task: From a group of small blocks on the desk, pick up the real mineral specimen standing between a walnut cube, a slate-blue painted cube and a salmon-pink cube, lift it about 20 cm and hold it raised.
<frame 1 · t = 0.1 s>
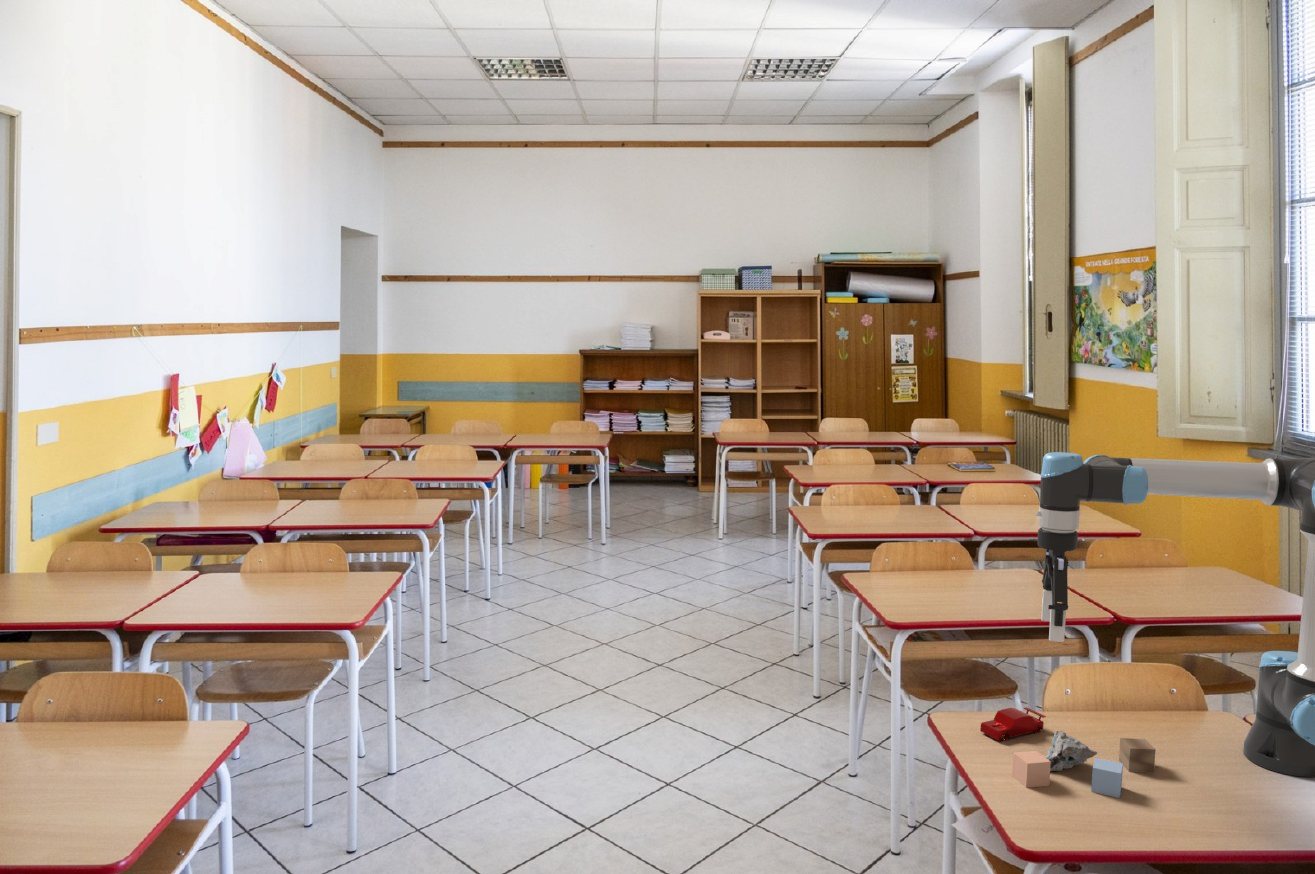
hand: (1052, 630, 199), 28 cm above the table, fingers open, 13 cm apart
salmon-pink cube: (1030, 780, 193), on the table
slate-blue cube: (1106, 789, 190), on the table
toy car: (1012, 734, 216), on the table
walnut cube: (1136, 766, 200), on the table
mineral specimen: (1066, 767, 199), on the table
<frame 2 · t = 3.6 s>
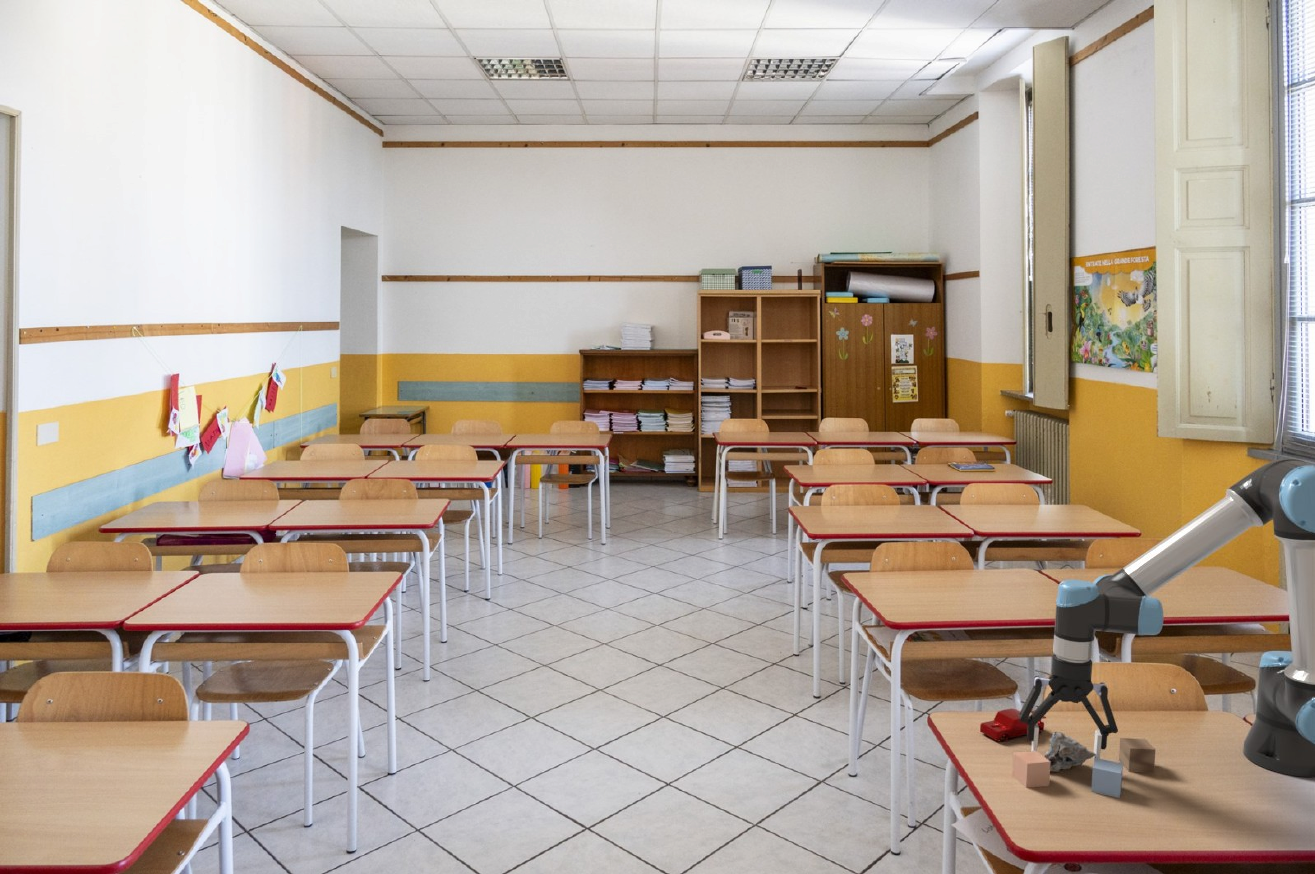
hand: (1064, 759, 199), 1 cm above the table, fingers closed on mineral specimen, 11 cm apart
mineral specimen: (1064, 768, 199), on the table, touching gripper
everything else where it was.
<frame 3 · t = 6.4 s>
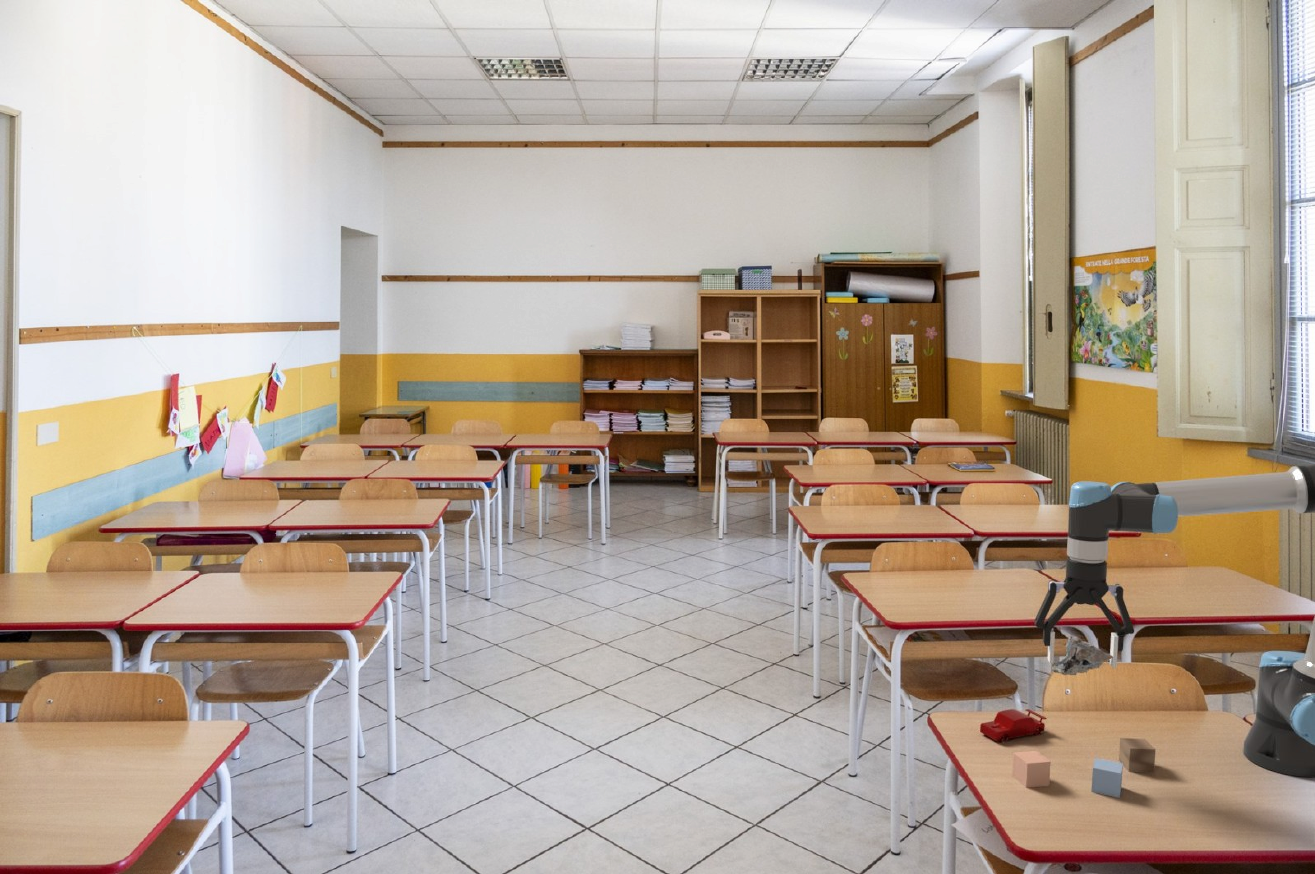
hand: (1081, 663, 198), 22 cm above the table, fingers closed on mineral specimen, 11 cm apart
mineral specimen: (1081, 673, 197), point 20 cm above the table, touching gripper
everything else where it was.
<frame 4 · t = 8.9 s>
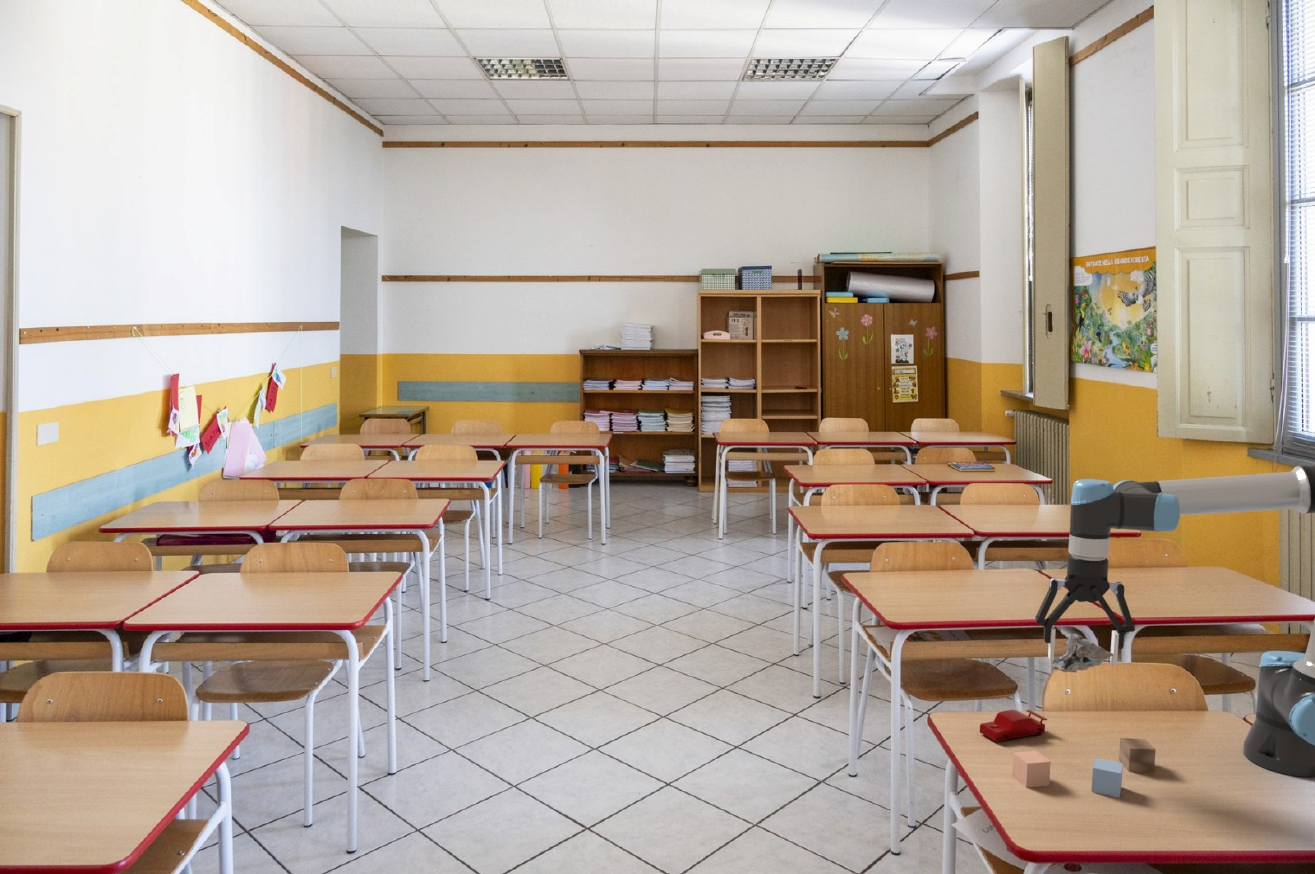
hand: (1082, 660, 198), 22 cm above the table, fingers closed on mineral specimen, 11 cm apart
mineral specimen: (1081, 670, 198), point 20 cm above the table, touching gripper
at the end: the gripper is holding mineral specimen; mineral specimen point 20.2 cm above the table; slate-blue cube moved 0.1 cm from its start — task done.
